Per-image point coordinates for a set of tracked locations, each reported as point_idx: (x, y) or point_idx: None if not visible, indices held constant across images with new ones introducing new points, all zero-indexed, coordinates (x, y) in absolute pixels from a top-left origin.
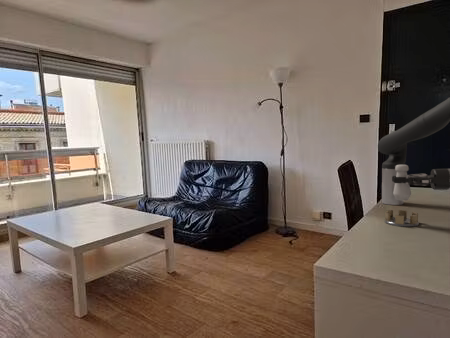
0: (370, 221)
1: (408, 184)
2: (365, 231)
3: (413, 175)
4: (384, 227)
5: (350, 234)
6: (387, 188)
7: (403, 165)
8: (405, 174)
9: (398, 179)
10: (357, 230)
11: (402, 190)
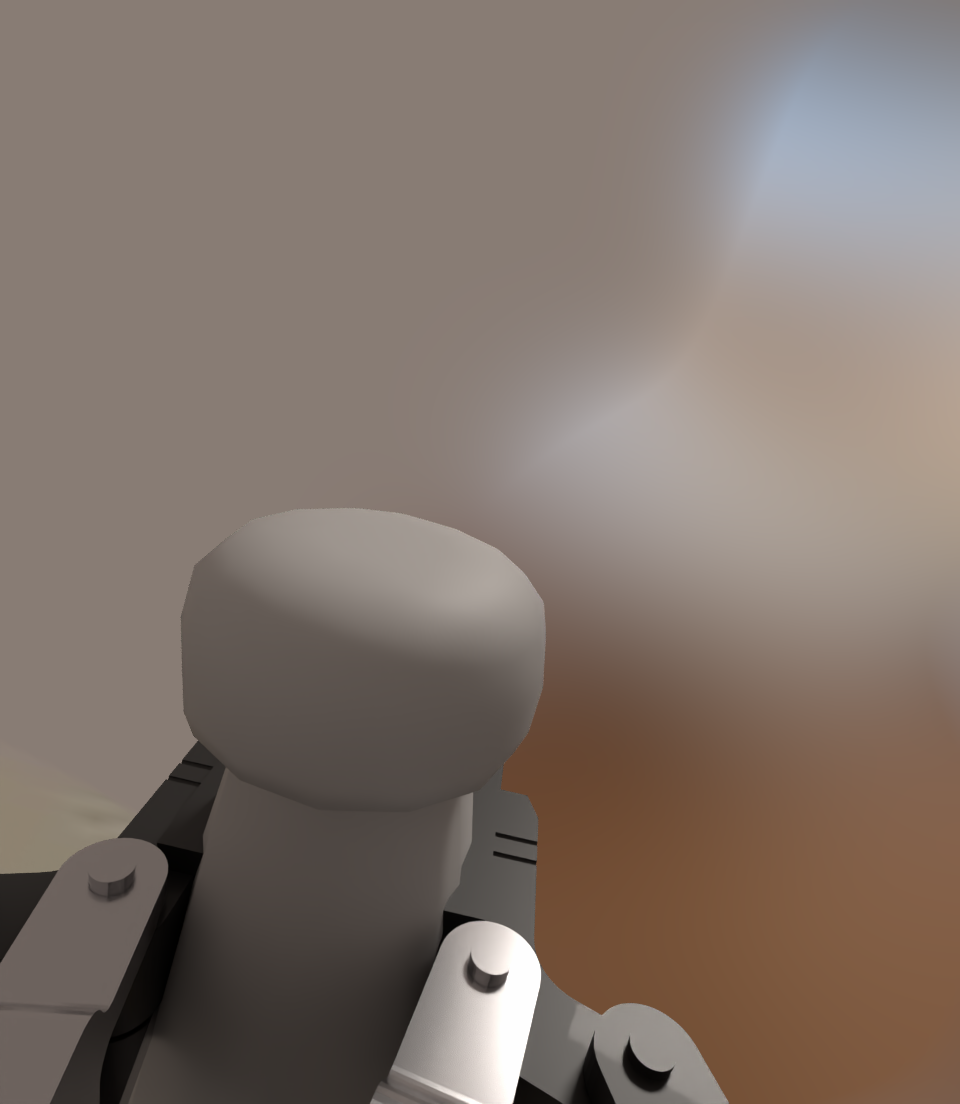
0: None
1: (173, 1100)
2: (33, 863)
3: (57, 1013)
4: None
5: (9, 762)
6: None
7: (250, 533)
8: (213, 807)
9: (187, 766)
10: (87, 824)
11: None
